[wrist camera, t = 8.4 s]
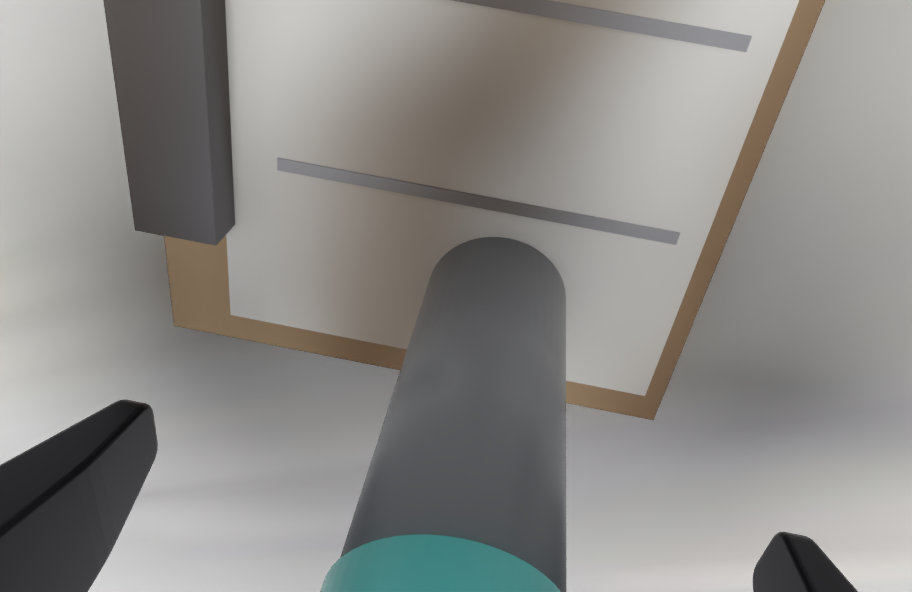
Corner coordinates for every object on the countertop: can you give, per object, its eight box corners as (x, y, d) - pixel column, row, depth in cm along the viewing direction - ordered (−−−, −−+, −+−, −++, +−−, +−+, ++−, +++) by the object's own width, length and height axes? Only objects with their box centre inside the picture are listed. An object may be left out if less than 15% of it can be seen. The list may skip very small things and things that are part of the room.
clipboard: (924, -269, 9) (977, -288, 8) (651, 408, 16) (658, 453, 14) (109, -397, 9) (43, -434, 8) (182, 315, 16) (151, 352, 15)
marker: (586, 248, 13) (618, 842, 5) (553, 368, 15) (539, 957, 7) (432, 219, 13) (235, 758, 5) (416, 341, 15) (247, 891, 7)
